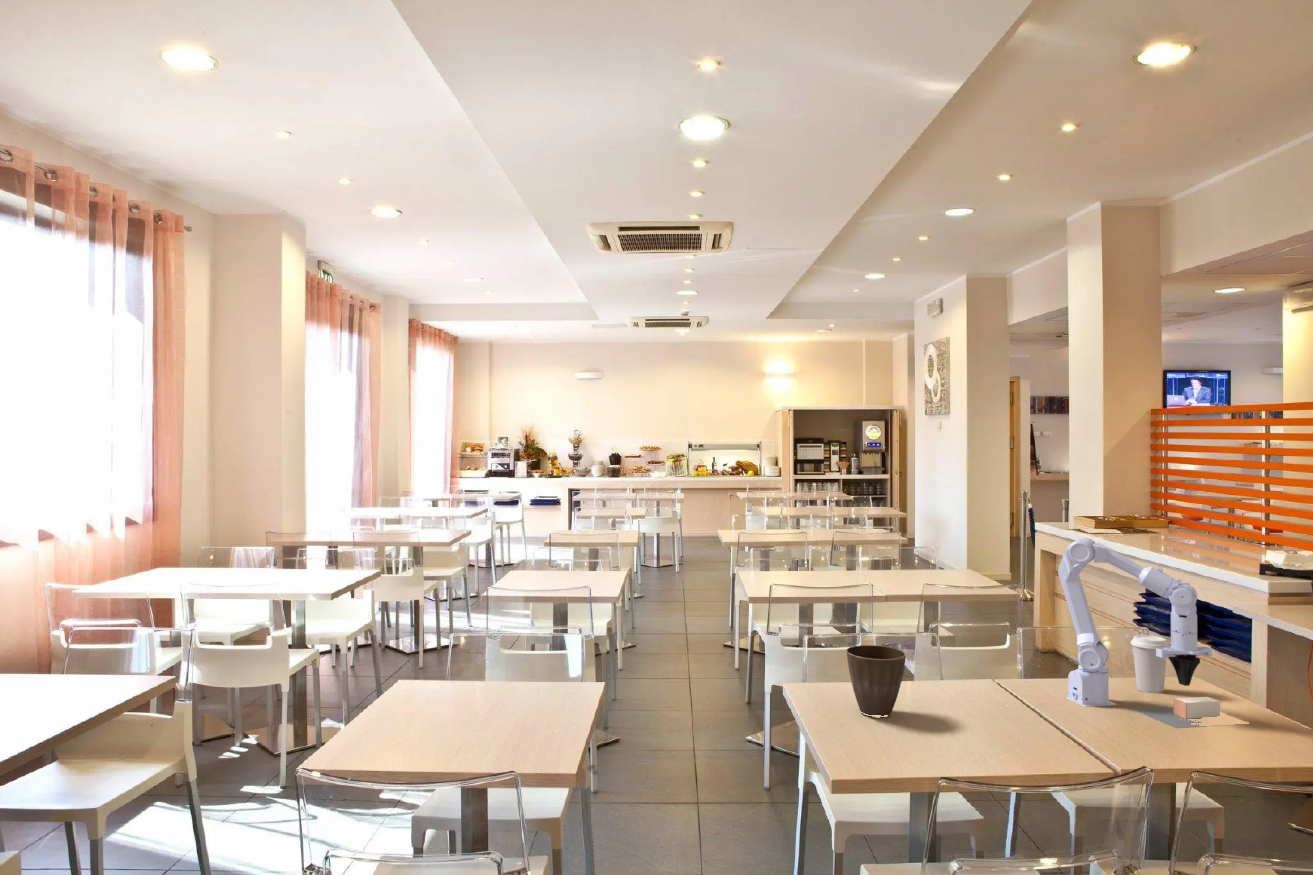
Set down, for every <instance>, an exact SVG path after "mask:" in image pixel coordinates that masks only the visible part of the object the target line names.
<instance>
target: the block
mask: <svg viewBox="0 0 1313 875" xmlns="http://www.w3.org/2000/svg"><path fill="white" fill-rule="evenodd" d="M1172 700H1173V702H1172V703H1173V705H1172V706H1173V709H1174V714H1175V715H1178V716H1180V717H1183V718H1185V719H1191V718H1203V717H1217V716H1220V711H1221V701H1220V700H1219V699H1215V698H1213V697H1209V696H1195V697H1194V696H1193V697H1190V696H1189V697H1173V698H1172Z"/></svg>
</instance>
